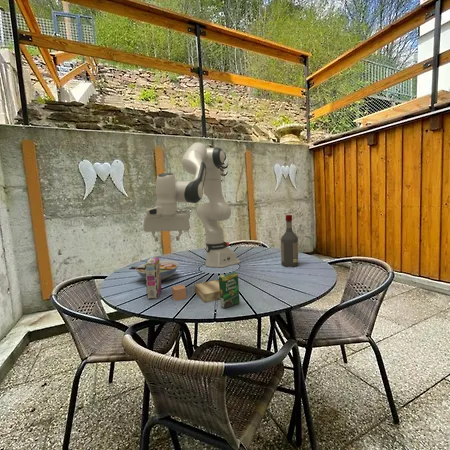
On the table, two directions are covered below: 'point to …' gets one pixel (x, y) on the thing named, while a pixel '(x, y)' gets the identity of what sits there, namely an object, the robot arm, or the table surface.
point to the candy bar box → (153, 278)
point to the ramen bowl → (165, 269)
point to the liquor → (289, 245)
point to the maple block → (208, 290)
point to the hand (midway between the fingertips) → (167, 240)
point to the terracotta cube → (179, 292)
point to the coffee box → (229, 290)
